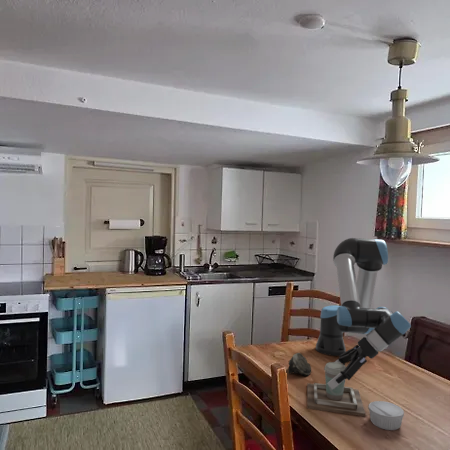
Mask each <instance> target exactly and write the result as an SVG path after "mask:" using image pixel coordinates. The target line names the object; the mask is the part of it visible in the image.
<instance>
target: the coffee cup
mask: <svg viewBox="0 0 450 450" xmlns="http://www.w3.org/2000/svg"><path fill="white" fill-rule="evenodd" d="M346 367H347V366H346V364H345V365H343V364H341V363H336V362H335V361H333V362H331V361H330V362H327V363H326V364H325V366H324V374H325V376H324V377H325V378H324V379H325V384H326V394H327V397H328V398H330V399H332V400H341V399H342V397H343V391H344V387H345V385H346V379H345V380H344V381H343V382H342V383H340V384H339V385H338V386H337V387H335V388H334V389H333V390H332V389H331V388H330V386H329V385H328V384H327V383H328V382H329V381H330V380H332V379H333V378H334V377H335V376H337V375H338V374H339V373H340V371H344V370H345V368H346Z"/></svg>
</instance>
